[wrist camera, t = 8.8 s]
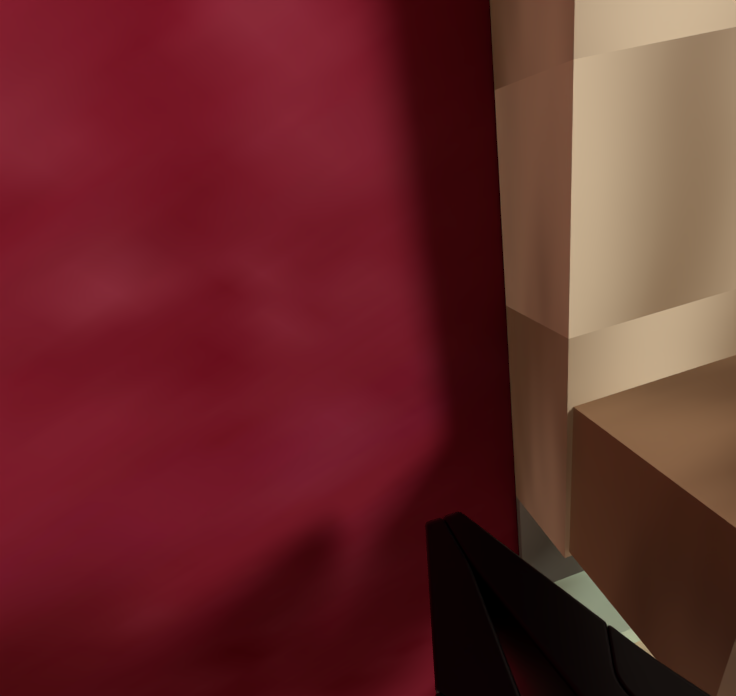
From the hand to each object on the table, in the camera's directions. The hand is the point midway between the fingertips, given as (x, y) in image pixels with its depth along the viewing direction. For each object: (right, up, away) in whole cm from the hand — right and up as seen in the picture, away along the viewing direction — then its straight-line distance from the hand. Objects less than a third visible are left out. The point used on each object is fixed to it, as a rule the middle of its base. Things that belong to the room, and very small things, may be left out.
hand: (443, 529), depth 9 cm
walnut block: (+6, +1, +2) cm, 6 cm away
